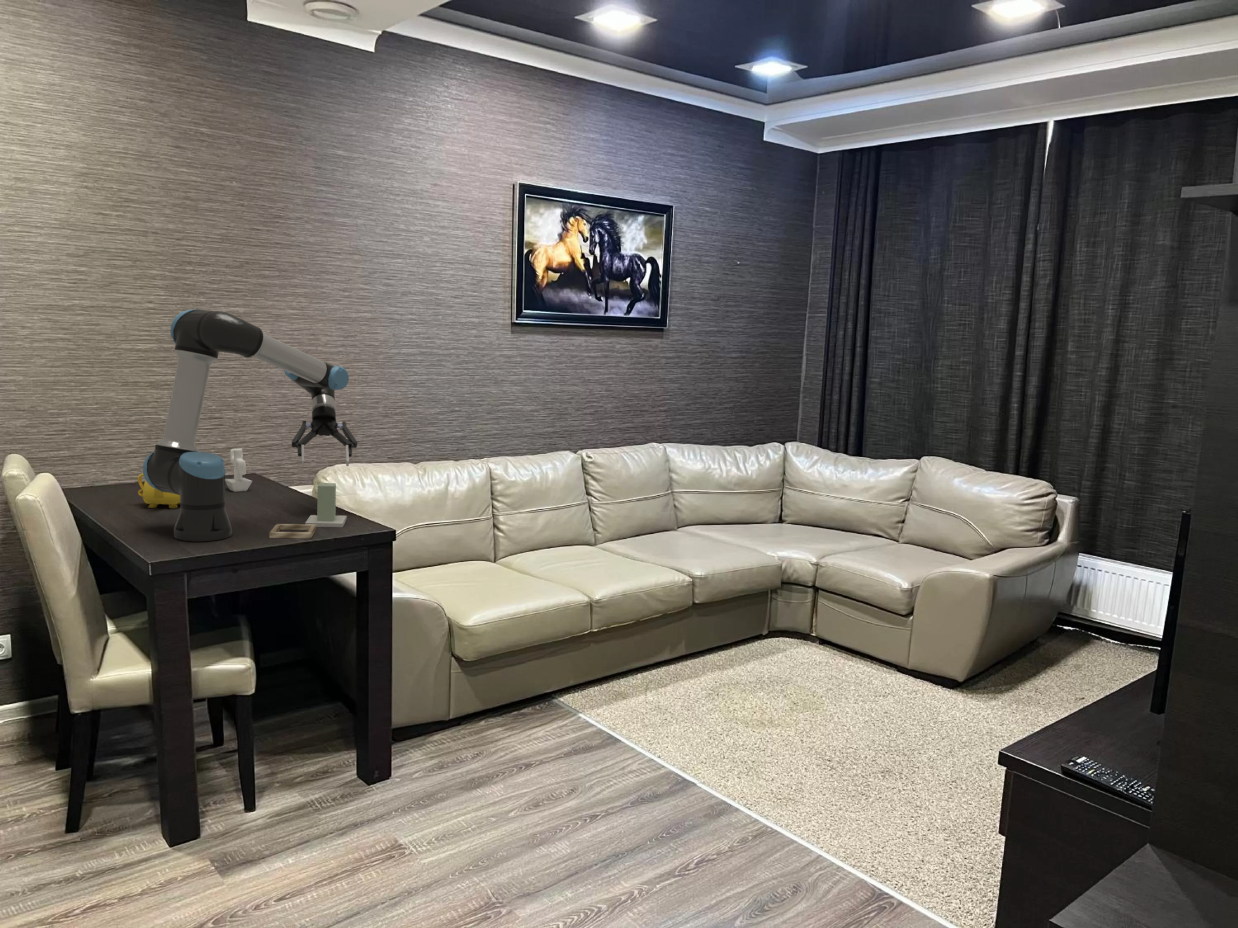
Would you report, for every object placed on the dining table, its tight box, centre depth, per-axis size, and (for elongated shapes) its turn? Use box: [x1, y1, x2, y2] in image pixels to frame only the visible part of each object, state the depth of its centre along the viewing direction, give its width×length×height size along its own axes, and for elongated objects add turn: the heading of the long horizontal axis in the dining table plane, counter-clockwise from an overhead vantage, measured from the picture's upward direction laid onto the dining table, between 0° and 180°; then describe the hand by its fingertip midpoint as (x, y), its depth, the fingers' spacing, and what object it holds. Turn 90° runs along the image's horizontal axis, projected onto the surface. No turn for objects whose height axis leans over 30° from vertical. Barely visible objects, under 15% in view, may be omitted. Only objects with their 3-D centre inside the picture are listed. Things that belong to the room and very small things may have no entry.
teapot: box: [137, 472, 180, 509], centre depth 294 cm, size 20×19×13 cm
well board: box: [268, 523, 317, 539], centre depth 268 cm, size 11×11×2 cm
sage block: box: [316, 482, 337, 521], centre depth 283 cm, size 5×5×11 cm
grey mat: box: [304, 514, 348, 528], centre depth 284 cm, size 11×11×1 cm
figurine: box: [225, 447, 253, 493], centre depth 324 cm, size 7×9×15 cm
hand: (325, 463), depth 291 cm, fingers open, 13 cm apart
